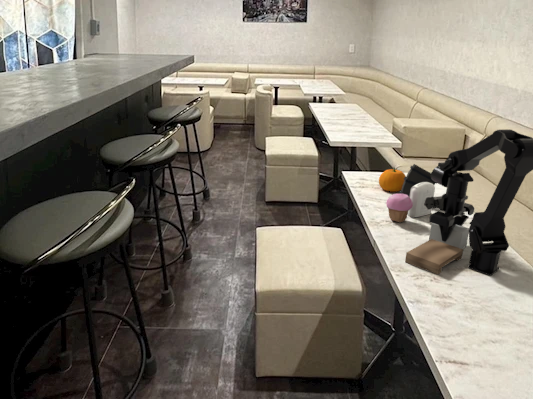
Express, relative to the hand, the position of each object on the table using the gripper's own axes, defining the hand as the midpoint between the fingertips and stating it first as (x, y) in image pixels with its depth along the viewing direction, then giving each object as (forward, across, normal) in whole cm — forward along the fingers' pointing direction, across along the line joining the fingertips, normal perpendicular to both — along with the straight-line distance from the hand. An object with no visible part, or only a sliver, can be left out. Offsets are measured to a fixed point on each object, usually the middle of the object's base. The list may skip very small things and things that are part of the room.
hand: (448, 238), depth 148 cm
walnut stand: (+2, +15, +3) cm, 15 cm away
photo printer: (+2, -17, -19) cm, 26 cm away
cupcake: (+2, -5, -21) cm, 22 cm away
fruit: (+2, -36, -42) cm, 55 cm away
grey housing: (+2, 0, 0) cm, 2 cm away
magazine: (+2, -30, -27) cm, 40 cm away
